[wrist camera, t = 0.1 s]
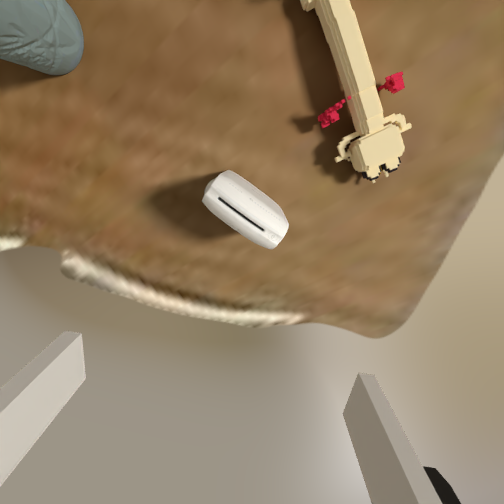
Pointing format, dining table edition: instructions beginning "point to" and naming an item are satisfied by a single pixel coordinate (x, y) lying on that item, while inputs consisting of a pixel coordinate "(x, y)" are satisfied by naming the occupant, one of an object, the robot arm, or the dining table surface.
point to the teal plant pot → (41, 35)
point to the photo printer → (246, 209)
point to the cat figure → (360, 94)
